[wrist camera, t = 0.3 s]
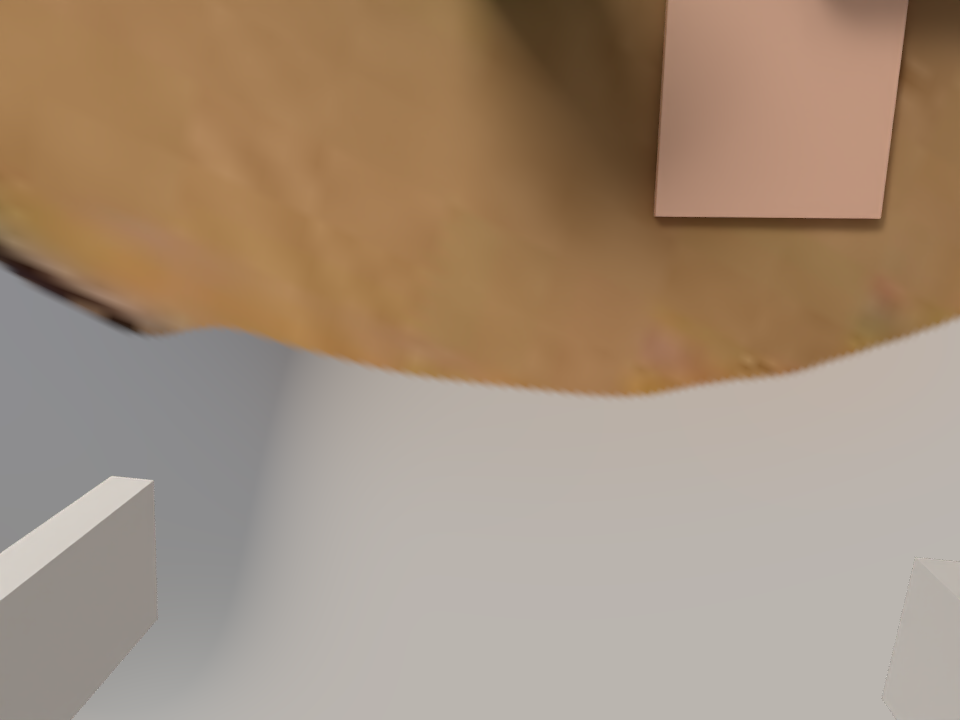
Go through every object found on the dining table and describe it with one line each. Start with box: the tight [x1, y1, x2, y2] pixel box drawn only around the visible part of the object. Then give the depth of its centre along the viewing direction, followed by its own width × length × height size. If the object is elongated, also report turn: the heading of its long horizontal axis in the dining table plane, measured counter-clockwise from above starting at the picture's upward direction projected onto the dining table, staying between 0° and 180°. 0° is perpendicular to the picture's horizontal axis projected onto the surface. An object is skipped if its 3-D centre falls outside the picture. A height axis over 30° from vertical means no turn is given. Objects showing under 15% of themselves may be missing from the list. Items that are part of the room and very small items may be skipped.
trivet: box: [654, 0, 909, 219], centre depth 36 cm, size 11×11×1 cm
